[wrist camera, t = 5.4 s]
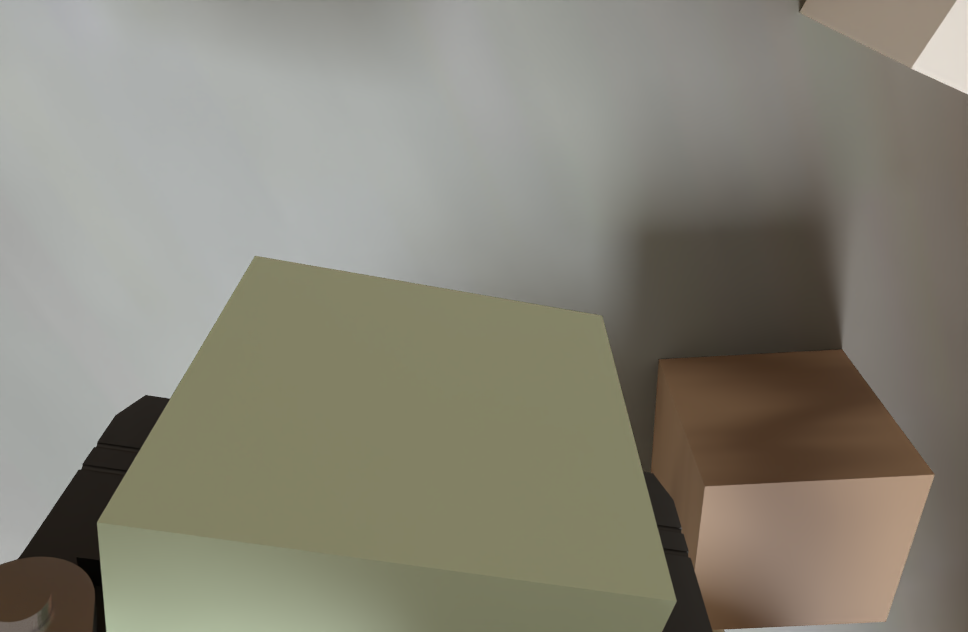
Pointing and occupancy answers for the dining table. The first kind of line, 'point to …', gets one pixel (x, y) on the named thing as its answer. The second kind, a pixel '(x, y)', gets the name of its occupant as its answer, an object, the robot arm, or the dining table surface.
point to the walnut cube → (787, 486)
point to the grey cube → (905, 32)
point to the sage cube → (387, 471)
